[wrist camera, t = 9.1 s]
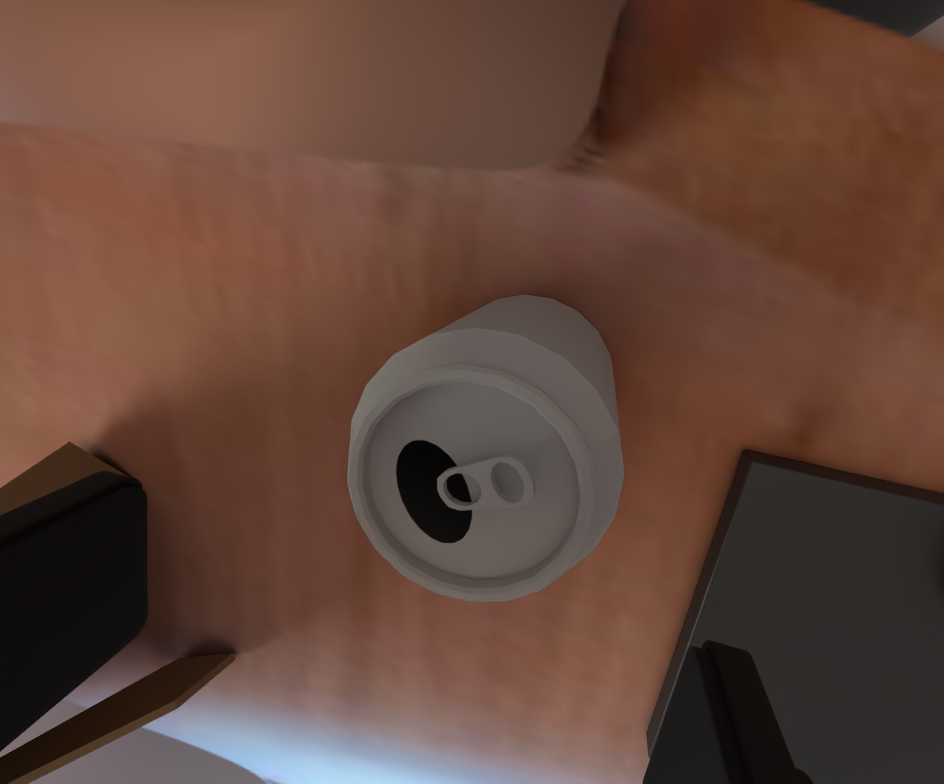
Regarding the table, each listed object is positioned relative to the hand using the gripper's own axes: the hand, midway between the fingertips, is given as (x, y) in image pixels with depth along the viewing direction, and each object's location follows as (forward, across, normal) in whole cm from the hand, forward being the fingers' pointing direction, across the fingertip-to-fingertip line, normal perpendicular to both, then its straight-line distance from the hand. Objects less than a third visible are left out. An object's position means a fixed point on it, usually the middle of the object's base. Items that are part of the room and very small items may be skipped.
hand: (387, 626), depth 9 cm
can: (+16, 0, -1) cm, 17 cm away
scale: (+16, -16, +8) cm, 25 cm away
